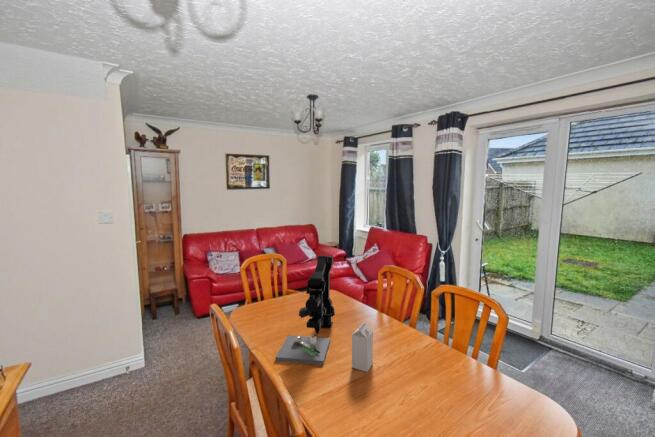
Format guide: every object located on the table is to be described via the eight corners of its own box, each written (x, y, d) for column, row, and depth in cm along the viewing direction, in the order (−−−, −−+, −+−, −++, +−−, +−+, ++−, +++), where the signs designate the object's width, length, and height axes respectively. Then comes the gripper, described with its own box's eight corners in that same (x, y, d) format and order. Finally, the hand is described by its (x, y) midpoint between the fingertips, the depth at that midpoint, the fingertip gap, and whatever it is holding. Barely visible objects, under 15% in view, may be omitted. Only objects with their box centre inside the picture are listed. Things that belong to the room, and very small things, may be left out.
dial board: (288, 339, 155) (288, 335, 155) (330, 342, 152) (330, 337, 151) (275, 361, 136) (275, 356, 135) (323, 365, 132) (323, 360, 132)
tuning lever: (292, 342, 147) (291, 328, 146) (298, 339, 150) (297, 326, 149) (316, 355, 135) (316, 340, 135) (322, 351, 138) (322, 337, 137)
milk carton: (351, 368, 130) (351, 326, 128) (357, 359, 136) (357, 319, 134) (367, 372, 127) (367, 329, 124) (372, 363, 133) (372, 322, 131)
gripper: (304, 294, 155) (305, 323, 157) (295, 309, 137) (296, 342, 138) (326, 295, 153) (326, 325, 155) (319, 311, 135) (319, 343, 137)
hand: (317, 333), depth 146 cm, fingers closed
